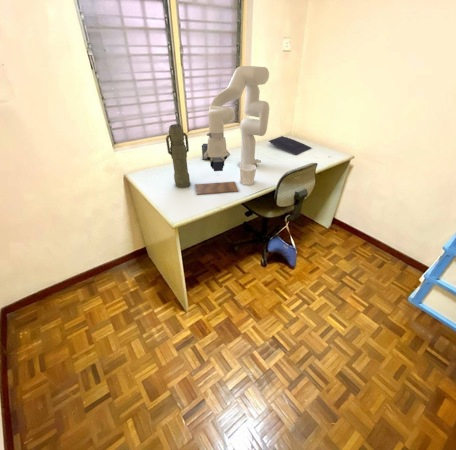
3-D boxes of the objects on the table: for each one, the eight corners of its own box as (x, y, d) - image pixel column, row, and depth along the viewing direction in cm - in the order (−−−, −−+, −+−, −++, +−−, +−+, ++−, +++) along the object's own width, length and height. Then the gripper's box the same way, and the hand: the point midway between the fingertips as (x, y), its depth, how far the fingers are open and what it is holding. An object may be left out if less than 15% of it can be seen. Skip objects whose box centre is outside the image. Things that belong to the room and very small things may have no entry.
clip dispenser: (220, 165, 147) (220, 155, 143) (222, 170, 140) (222, 160, 137) (212, 165, 146) (211, 155, 143) (213, 171, 140) (213, 161, 136)
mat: (234, 182, 157) (234, 181, 157) (238, 191, 147) (238, 190, 147) (196, 185, 153) (195, 184, 153) (197, 194, 144) (197, 193, 143)
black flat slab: (282, 138, 226) (283, 134, 223) (311, 150, 211) (312, 146, 209) (265, 144, 212) (266, 140, 209) (295, 158, 197) (296, 154, 195)
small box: (217, 157, 191) (217, 143, 185) (216, 160, 185) (215, 146, 179) (204, 156, 191) (203, 143, 185) (202, 159, 186) (201, 145, 180)
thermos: (170, 184, 153) (161, 125, 133) (187, 179, 159) (181, 121, 139) (177, 190, 148) (168, 129, 127) (194, 184, 154) (189, 125, 133)
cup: (254, 186, 153) (255, 171, 147) (238, 185, 154) (238, 170, 148) (256, 179, 161) (257, 164, 155) (240, 178, 162) (241, 163, 156)
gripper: (200, 137, 128) (203, 171, 139) (233, 136, 131) (233, 169, 141) (199, 133, 134) (202, 165, 145) (231, 132, 137) (231, 164, 147)
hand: (217, 167), depth 143 cm, fingers closed on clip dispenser, 5 cm apart
